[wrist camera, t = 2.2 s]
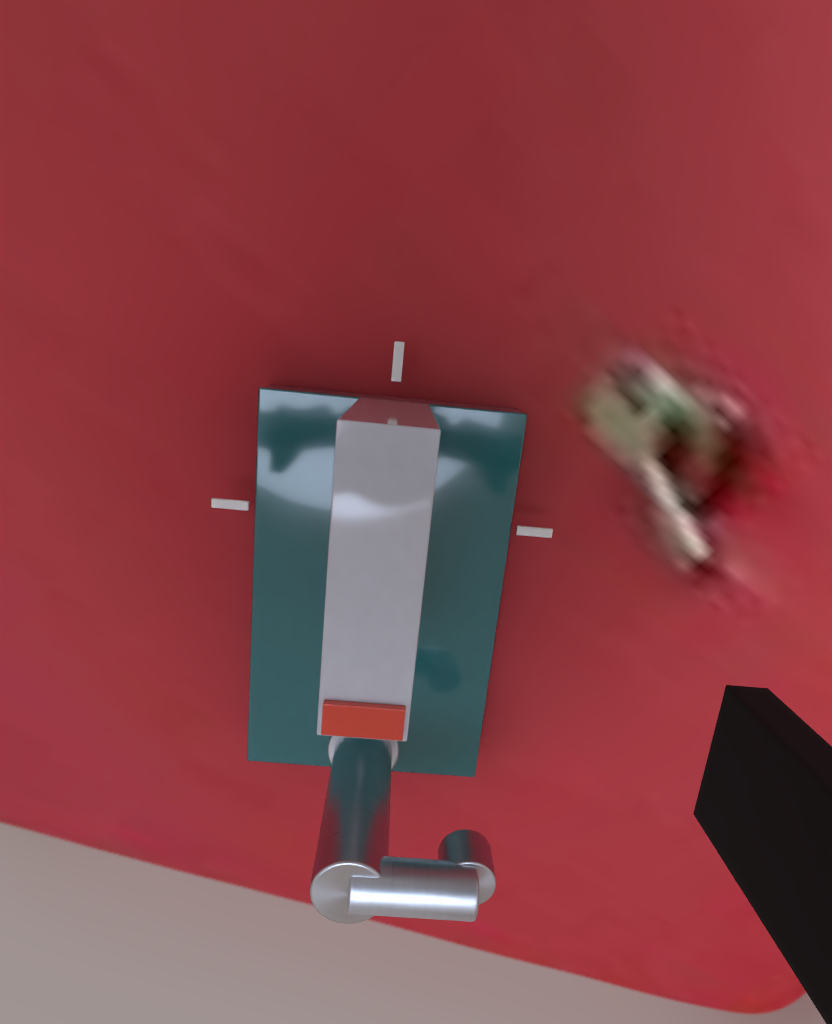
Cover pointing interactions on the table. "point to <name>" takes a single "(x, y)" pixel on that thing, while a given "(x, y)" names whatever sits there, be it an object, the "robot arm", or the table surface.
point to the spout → (387, 849)
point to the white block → (376, 567)
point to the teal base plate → (447, 587)
